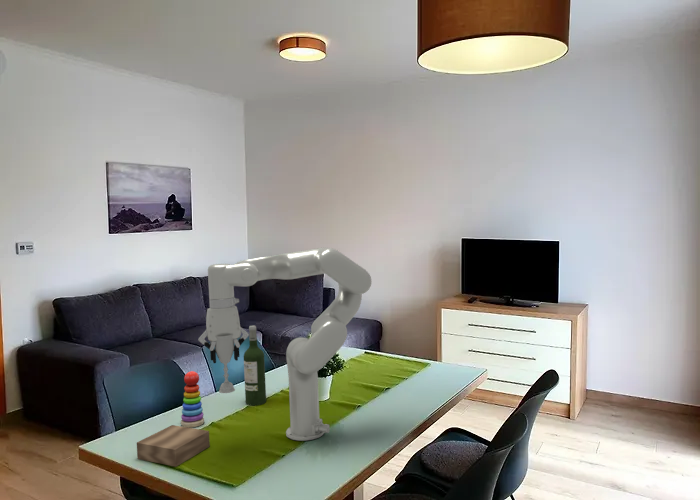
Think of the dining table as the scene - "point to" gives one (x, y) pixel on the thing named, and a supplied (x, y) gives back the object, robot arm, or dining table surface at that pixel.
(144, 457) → the plinth
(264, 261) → the robot arm
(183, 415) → the stacking toy
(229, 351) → the chalice
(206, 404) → the dining table surface
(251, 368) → the wine bottle
